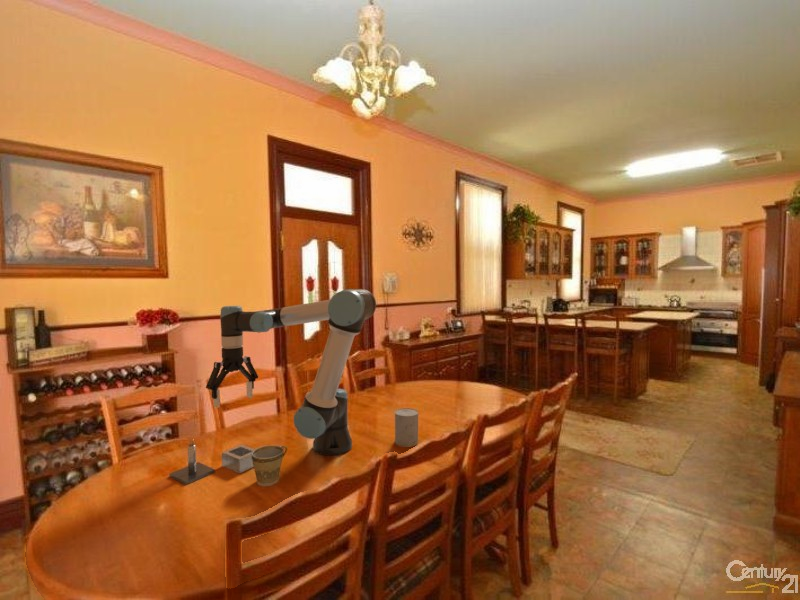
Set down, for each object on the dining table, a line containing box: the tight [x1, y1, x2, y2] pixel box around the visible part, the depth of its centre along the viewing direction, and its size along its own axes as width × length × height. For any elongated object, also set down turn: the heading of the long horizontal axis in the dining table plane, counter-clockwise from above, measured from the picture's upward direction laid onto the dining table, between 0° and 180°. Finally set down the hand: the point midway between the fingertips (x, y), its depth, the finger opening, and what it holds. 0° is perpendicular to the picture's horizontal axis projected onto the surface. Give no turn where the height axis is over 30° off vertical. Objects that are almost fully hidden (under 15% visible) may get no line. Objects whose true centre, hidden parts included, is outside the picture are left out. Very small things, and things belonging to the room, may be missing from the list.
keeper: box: [168, 438, 216, 486], centre depth 135 cm, size 10×10×12 cm
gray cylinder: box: [394, 407, 419, 448], centre depth 162 cm, size 10×10×12 cm
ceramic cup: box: [251, 444, 288, 487], centre depth 132 cm, size 13×10×10 cm
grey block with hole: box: [221, 443, 256, 474], centre depth 141 cm, size 10×8×5 cm
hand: (234, 402), depth 152 cm, fingers open, 13 cm apart
